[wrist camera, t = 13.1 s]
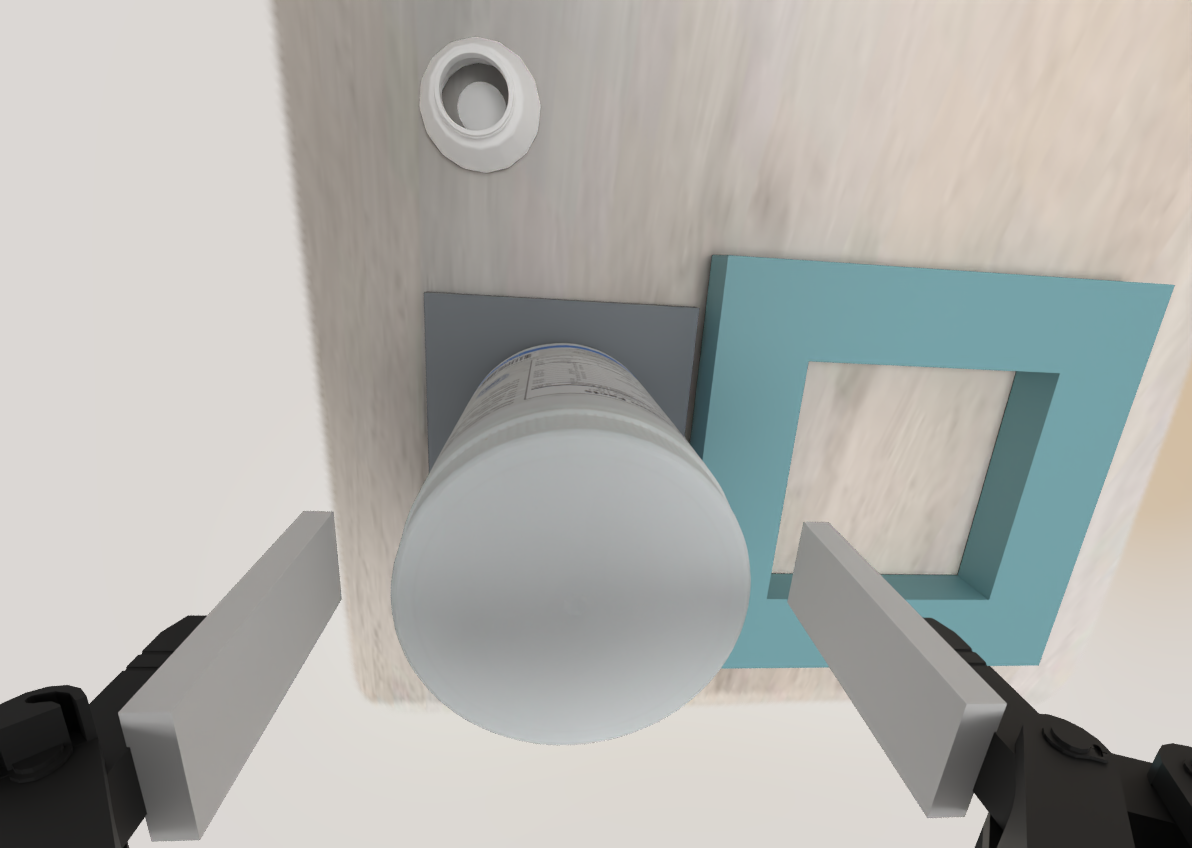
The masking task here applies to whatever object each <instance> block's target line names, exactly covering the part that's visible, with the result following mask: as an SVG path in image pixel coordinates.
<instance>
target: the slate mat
mask: <svg viewBox="0 0 1192 848" xmlns="http://www.w3.org/2000/svg"><path fill="white" fill-rule="evenodd" d="M424 313H425V348H426V383H427V419H428V454H429V473H430V471H431V469H432V467H433V466H434V464H435V462H436V460H437V458H438V456H439V454H440V453H441V451H442V449H443V447H444V445H445V444H446V442H447V440H448V438H449V437H450V435H451V433H452V431H453V429H454V428H455V426H456V424H457V422H458V421H459V419H460V417H461V415H462V413H463V412H464V410H465V408H466V406H467V405H468V403H469V401H470V399H471V398H472V396H473V394H474V393H475V391H476V390H477V388H478V386H479V385H480V383H481V382H482V381H483V380H484V378H485V377H486V376H487V375H488V374H489V373H490V372H491V371H492V370H493V369H494V368H495V367H496V366H498V365H499V364H500V363H501V362H503V361H504V360H506V359H507V358H509V357H511V356H512V355H514V354H516V353H518V352H520V351H523V350H525V349H528V348H531V347H535V346H539V345H545V344H553V343H570V344H578V345H583V346H587V347H590V348H593V349H596V350H599V351H601V352H603V353H606V354H607V355H609V356H611V357H612V358H614V359H615V360H617V361H618V362H620V363H621V364H622V365H623V366H625V367H626V368H627V369H628V370H629V371H630V372H631V373H632V374H633V375H634V376H635V377H636V379H637V380H638V381H639V382H640V383H641V385H642V386H643V387H644V388H645V389H646V391H647V392H648V393H649V394H650V396H651V397H652V398H653V399H654V400H655V402H656V403H657V404H658V405H659V407H660V408H661V409H662V410H663V412H664V413H665V414H666V415H667V417H668V418H669V419H670V420H671V422H672V423H673V424H674V425H675V427H676V428H677V429H678V430H679V432H680V433H681V434H682V435H683V436H684V437H685V429H686V420H687V411H688V403H689V394H690V385H691V377H692V368H693V359H694V350H695V342H696V333H697V324H698V316H699V308H697V307H684V306H667V305H649V304H632V303H614V302H596V301H579V300H561V299H544V298H526V297H508V296H491V295H473V294H455V293H438V292H425V293H424Z"/></svg>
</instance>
